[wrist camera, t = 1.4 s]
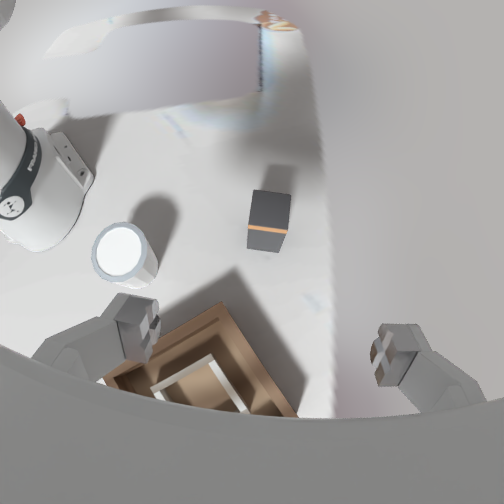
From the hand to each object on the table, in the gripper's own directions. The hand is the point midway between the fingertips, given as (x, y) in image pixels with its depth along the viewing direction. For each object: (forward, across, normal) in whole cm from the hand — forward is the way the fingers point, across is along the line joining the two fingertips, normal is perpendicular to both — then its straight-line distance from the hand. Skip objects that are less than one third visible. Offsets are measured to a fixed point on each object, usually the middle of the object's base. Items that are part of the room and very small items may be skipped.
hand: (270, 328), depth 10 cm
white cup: (+23, +16, +12) cm, 31 cm away
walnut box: (+13, +5, +23) cm, 27 cm away
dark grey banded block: (+28, 0, +8) cm, 29 cm away
